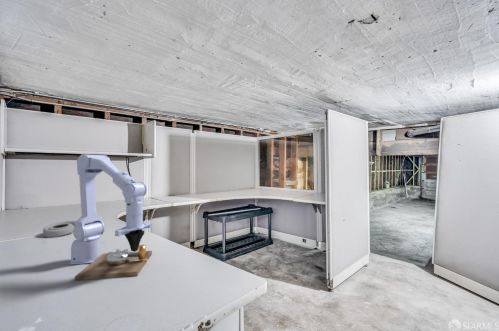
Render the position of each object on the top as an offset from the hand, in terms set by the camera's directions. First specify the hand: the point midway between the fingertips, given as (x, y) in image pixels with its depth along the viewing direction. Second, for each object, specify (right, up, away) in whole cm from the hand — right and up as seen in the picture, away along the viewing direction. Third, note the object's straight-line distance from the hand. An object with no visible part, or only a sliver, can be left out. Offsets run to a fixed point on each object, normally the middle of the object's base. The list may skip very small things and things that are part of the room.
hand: (134, 250), depth 91 cm
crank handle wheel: (-5, -5, +4) cm, 8 cm away
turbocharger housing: (-68, -9, +51) cm, 86 cm away
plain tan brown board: (-8, -7, +4) cm, 11 cm away
